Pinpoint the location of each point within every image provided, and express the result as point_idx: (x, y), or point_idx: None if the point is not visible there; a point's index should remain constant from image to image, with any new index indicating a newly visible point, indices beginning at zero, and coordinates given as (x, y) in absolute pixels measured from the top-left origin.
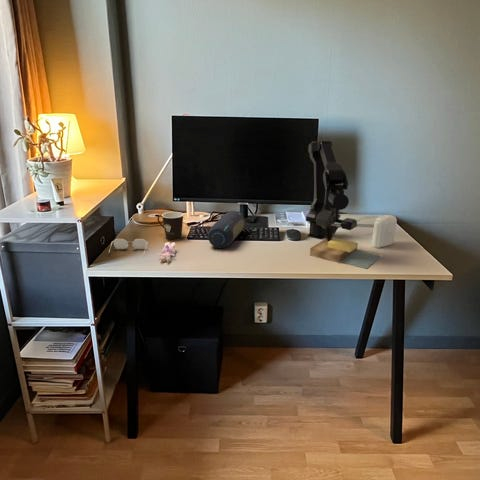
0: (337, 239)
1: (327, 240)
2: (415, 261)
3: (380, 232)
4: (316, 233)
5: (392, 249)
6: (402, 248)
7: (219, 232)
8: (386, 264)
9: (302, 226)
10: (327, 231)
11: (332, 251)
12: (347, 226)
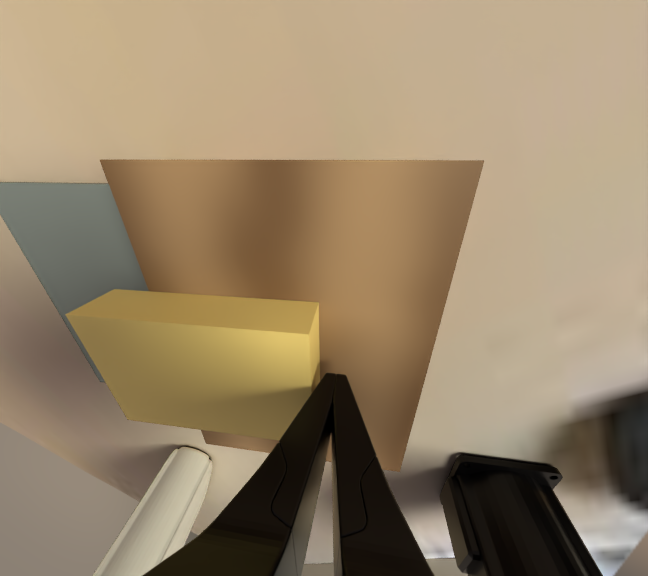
0: (271, 420)
1: (348, 381)
2: (2, 390)
3: (110, 547)
4: (506, 493)
5: (139, 451)
6: (127, 466)
7: None
8: (14, 310)
9: (607, 545)
10: (339, 498)
11: (219, 219)
12: None
